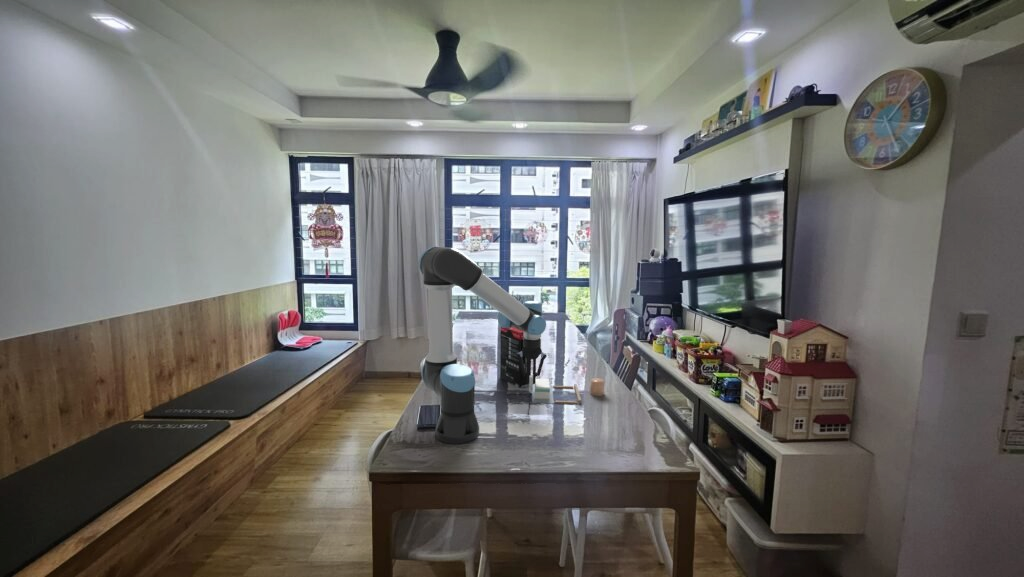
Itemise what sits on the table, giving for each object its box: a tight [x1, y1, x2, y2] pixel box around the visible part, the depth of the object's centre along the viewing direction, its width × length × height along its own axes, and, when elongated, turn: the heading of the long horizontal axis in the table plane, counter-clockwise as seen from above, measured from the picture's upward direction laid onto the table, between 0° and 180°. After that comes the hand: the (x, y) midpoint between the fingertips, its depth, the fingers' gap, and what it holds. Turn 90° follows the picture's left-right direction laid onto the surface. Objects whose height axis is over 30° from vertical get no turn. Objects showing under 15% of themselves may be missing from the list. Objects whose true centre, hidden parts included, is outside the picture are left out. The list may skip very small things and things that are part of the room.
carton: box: [534, 378, 551, 399], centre depth 177 cm, size 10×6×5 cm, turn 177°
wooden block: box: [589, 377, 605, 397], centre depth 183 cm, size 6×6×6 cm
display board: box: [531, 383, 582, 405], centre depth 177 cm, size 18×20×3 cm
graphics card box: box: [499, 326, 532, 389], centre depth 190 cm, size 17×7×27 cm, turn 35°
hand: (530, 390), depth 177 cm, fingers closed
